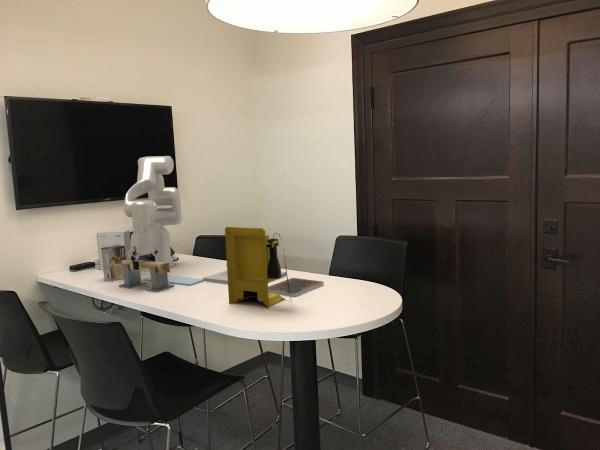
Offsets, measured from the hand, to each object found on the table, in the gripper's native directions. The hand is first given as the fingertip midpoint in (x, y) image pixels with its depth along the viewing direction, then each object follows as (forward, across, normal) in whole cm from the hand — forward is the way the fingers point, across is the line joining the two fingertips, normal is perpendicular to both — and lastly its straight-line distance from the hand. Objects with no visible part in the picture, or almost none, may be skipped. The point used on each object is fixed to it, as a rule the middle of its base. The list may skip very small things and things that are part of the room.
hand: (144, 267), depth 223 cm
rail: (+1, 0, 0) cm, 1 cm away
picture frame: (+10, -22, +64) cm, 68 cm away
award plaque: (+10, -30, +33) cm, 46 cm away
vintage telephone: (+10, +1, +63) cm, 64 cm away
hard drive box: (+8, -25, -49) cm, 56 cm away
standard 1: (+9, 0, -9) cm, 12 cm away
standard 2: (+9, 0, +8) cm, 12 cm away
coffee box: (+9, -6, -27) cm, 29 cm away
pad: (+9, -14, +3) cm, 17 cm away
